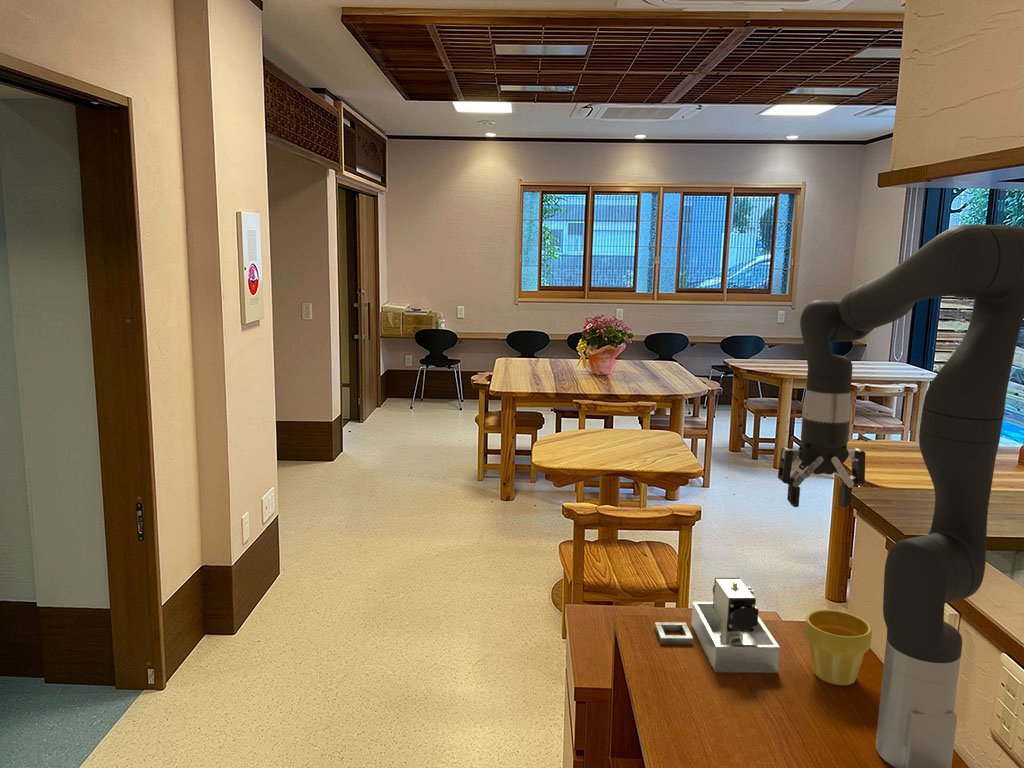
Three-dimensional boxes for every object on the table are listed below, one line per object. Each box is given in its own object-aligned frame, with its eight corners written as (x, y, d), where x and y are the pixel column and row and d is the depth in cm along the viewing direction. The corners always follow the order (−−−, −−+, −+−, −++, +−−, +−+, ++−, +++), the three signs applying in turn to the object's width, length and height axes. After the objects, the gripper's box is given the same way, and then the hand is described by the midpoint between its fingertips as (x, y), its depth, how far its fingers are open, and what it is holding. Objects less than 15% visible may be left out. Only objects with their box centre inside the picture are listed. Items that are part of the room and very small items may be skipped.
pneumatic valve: (728, 660, 130) (732, 596, 128) (709, 627, 141) (712, 568, 139) (759, 660, 130) (764, 596, 128) (737, 627, 141) (741, 568, 139)
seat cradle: (777, 672, 127) (779, 647, 127) (714, 672, 127) (716, 646, 127) (747, 625, 144) (748, 602, 143) (691, 624, 144) (692, 601, 143)
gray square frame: (692, 644, 137) (693, 638, 137) (660, 644, 137) (661, 638, 136) (685, 628, 143) (685, 622, 142) (654, 628, 143) (654, 622, 142)
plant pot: (801, 654, 133) (805, 604, 132) (863, 665, 130) (868, 614, 128) (802, 685, 124) (807, 631, 122) (870, 697, 120) (875, 642, 119)
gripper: (793, 420, 123) (786, 513, 125) (877, 421, 123) (869, 513, 125) (776, 411, 130) (770, 499, 133) (857, 412, 130) (849, 499, 133)
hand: (818, 506), depth 129 cm, fingers open, 8 cm apart
